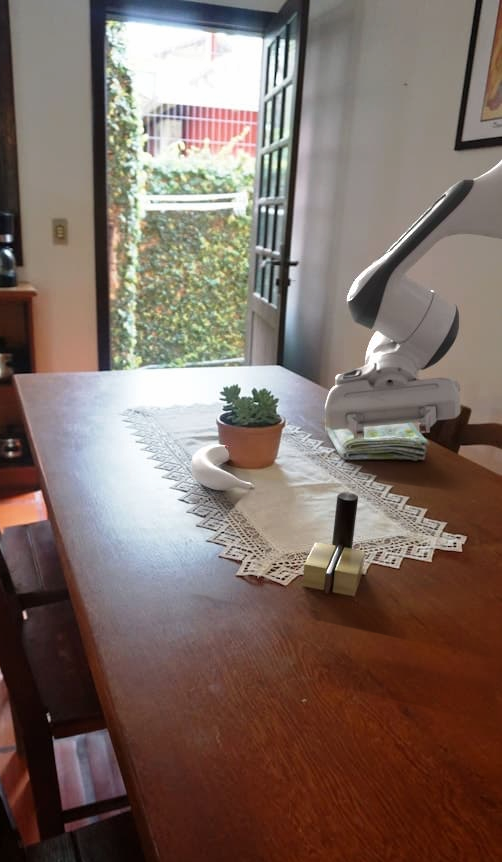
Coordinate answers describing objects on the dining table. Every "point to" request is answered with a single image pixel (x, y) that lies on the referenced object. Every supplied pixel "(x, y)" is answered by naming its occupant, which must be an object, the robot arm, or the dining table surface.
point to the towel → (380, 442)
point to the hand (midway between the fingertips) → (391, 432)
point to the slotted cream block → (345, 571)
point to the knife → (342, 531)
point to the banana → (214, 469)
